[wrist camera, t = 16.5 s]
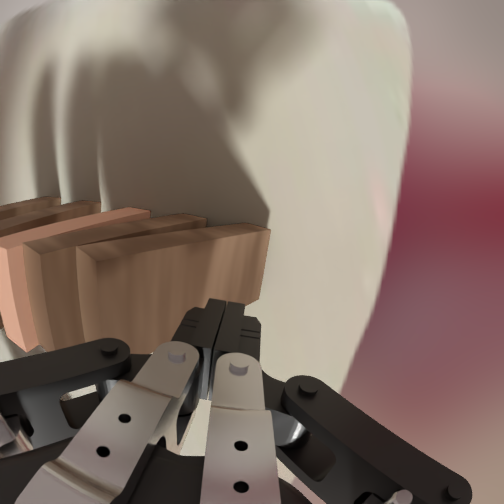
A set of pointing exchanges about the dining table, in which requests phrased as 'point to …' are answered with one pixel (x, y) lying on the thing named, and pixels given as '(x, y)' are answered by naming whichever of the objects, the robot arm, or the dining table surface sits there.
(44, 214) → the domino
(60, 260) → the domino
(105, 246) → the domino
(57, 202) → the domino
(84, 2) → the dining table surface
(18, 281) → the domino
